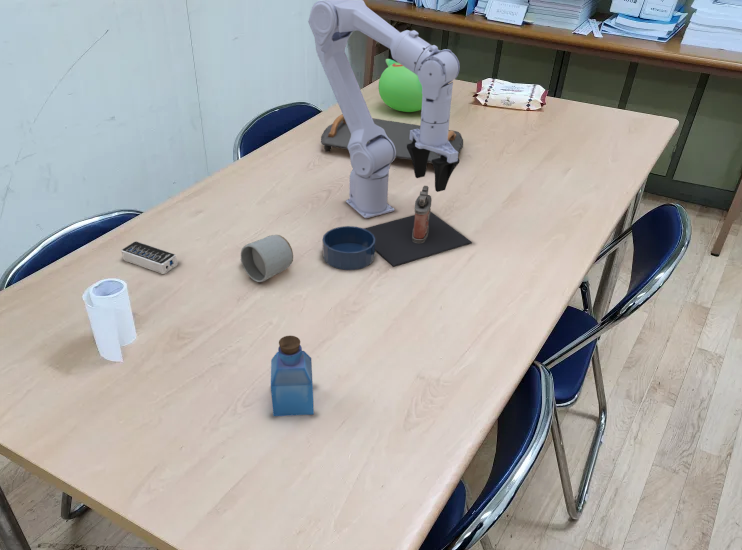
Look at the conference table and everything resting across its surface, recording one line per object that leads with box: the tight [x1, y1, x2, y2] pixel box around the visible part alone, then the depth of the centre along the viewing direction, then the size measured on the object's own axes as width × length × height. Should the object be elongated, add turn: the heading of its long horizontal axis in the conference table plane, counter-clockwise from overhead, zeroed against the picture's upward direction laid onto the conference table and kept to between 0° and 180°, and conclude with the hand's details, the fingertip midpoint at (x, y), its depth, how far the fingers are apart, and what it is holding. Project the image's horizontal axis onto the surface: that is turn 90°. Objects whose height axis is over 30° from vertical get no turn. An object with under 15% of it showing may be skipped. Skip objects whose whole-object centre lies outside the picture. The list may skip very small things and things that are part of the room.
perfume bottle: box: [270, 335, 315, 417], centre depth 97 cm, size 6×6×12 cm
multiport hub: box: [120, 240, 178, 275], centre depth 130 cm, size 4×11×2 cm, turn 62°
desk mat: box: [364, 211, 473, 268], centre depth 140 cm, size 16×20×1 cm
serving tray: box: [320, 114, 464, 164], centre depth 175 cm, size 39×23×6 cm, turn 69°
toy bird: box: [378, 58, 422, 113], centre depth 194 cm, size 18×17×15 cm
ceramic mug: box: [240, 234, 294, 283], centre depth 127 cm, size 11×8×8 cm
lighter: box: [412, 185, 433, 243], centre depth 137 cm, size 8×3×10 cm, turn 168°
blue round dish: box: [321, 225, 376, 271], centre depth 133 cm, size 11×11×4 cm
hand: (430, 183), depth 137 cm, fingers open, 7 cm apart
